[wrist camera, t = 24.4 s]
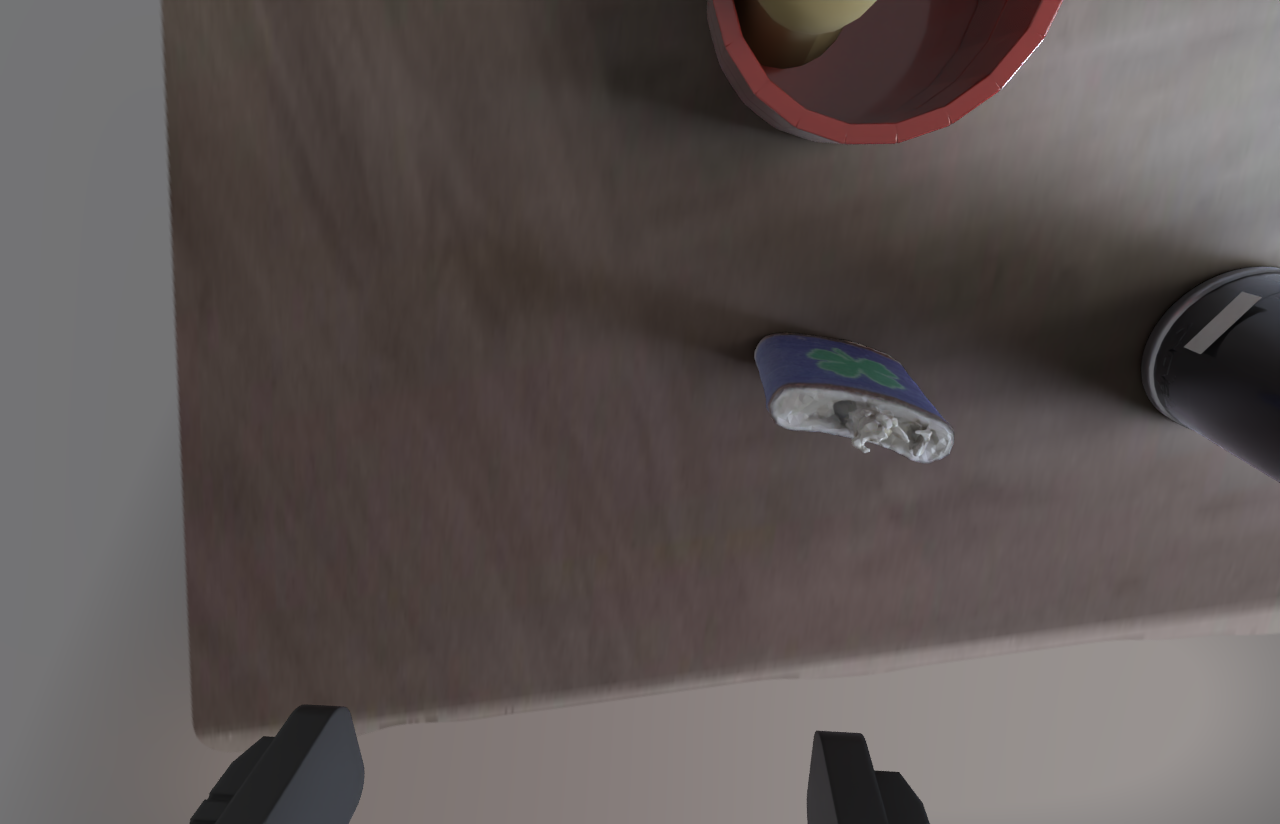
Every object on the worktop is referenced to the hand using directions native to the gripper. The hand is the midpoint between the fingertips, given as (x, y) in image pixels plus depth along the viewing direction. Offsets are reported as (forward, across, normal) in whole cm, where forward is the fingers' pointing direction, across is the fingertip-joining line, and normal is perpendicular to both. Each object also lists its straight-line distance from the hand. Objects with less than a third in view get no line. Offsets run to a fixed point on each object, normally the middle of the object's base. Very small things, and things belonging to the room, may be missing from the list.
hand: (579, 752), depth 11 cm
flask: (+30, +10, -3) cm, 32 cm away
